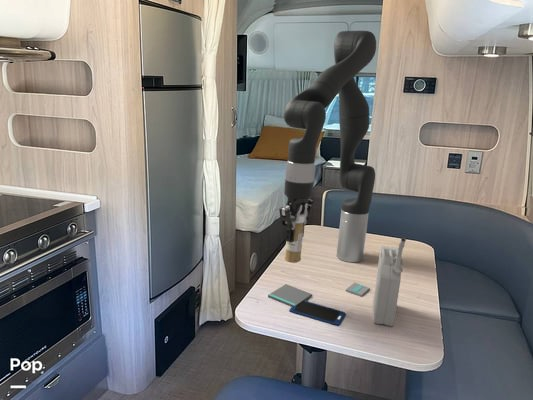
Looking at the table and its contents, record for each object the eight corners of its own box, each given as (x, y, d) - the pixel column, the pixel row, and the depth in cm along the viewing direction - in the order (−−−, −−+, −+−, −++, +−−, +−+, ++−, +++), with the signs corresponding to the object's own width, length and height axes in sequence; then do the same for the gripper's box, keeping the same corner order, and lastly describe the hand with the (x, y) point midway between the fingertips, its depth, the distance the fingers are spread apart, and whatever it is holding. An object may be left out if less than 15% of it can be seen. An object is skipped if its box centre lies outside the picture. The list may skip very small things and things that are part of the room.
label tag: (354, 284, 133) (354, 282, 133) (369, 289, 131) (369, 287, 130) (345, 290, 129) (345, 289, 129) (361, 296, 126) (361, 294, 126)
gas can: (394, 333, 109) (409, 239, 102) (374, 329, 110) (387, 237, 103) (391, 303, 123) (404, 220, 116) (373, 300, 124) (384, 217, 117)
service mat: (285, 285, 130) (285, 283, 130) (311, 295, 125) (311, 293, 125) (267, 296, 123) (268, 294, 123) (294, 307, 118) (294, 305, 118)
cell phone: (338, 327, 110) (338, 325, 110) (288, 312, 116) (288, 310, 116) (346, 314, 117) (346, 312, 116) (298, 301, 122) (298, 298, 122)
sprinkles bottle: (281, 260, 120) (284, 213, 117) (290, 255, 124) (294, 210, 120) (294, 265, 118) (298, 217, 114) (304, 260, 121) (308, 214, 117)
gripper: (296, 185, 107) (291, 250, 111) (325, 177, 118) (319, 236, 122) (272, 179, 111) (268, 242, 115) (301, 172, 122) (297, 229, 127)
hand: (294, 238), depth 119 cm, fingers closed on sprinkles bottle, 4 cm apart
